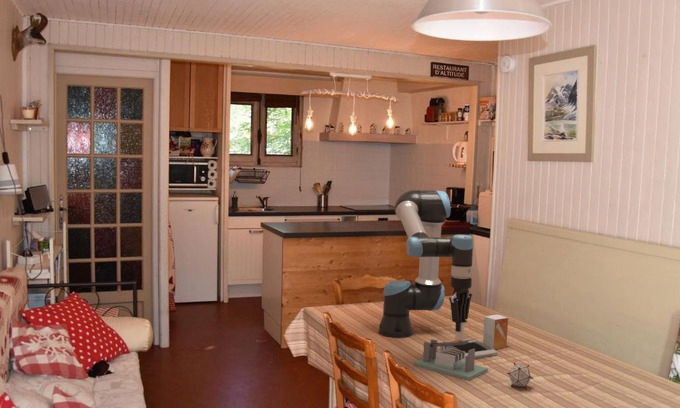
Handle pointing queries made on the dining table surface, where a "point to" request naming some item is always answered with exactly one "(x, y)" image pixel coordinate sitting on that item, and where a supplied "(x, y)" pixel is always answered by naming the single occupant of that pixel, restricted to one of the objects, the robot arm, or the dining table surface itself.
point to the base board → (463, 372)
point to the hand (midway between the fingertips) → (459, 339)
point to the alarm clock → (480, 348)
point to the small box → (495, 331)
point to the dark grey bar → (449, 343)
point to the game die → (520, 375)
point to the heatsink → (450, 358)
